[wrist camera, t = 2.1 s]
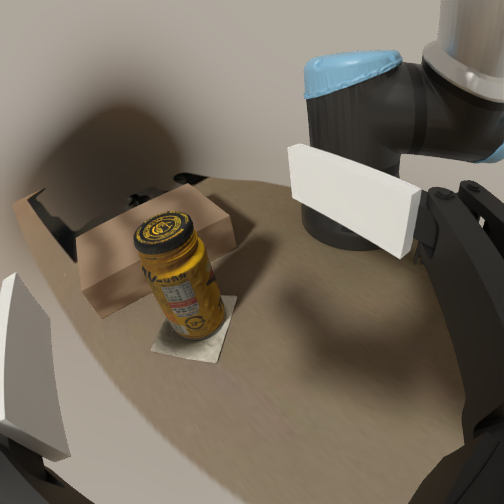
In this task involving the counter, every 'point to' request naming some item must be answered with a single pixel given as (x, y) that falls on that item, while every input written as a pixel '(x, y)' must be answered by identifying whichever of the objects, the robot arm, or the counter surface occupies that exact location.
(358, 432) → the counter surface
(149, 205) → the stand
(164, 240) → the condiment
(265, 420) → the counter surface
